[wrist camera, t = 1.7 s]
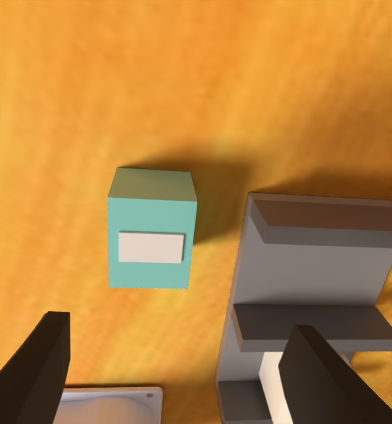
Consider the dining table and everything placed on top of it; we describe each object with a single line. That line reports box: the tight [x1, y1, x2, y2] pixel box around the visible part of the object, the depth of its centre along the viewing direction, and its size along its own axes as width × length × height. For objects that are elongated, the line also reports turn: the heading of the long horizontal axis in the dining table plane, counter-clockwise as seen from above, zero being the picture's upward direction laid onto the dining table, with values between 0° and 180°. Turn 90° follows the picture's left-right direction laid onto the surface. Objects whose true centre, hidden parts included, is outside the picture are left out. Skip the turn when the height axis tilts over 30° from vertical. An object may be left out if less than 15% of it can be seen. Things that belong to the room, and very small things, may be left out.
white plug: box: [259, 352, 354, 424], centre depth 23 cm, size 4×5×4 cm
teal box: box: [108, 167, 197, 289], centre depth 18 cm, size 4×5×4 cm
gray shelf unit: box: [215, 192, 392, 424], centre depth 22 cm, size 10×16×4 cm, turn 174°
